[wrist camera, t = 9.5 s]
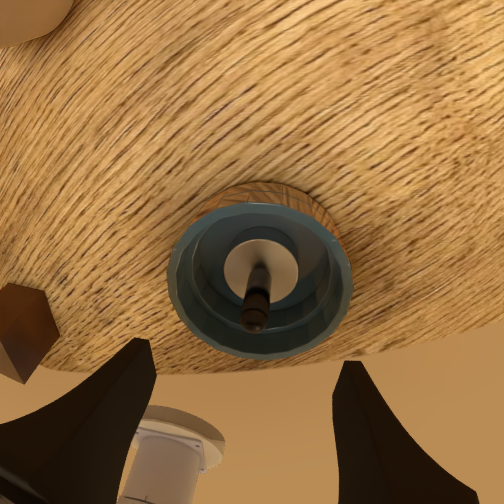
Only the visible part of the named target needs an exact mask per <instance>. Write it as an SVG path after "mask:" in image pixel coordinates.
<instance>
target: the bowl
mask: <svg viewBox="0 0 504 504" xmlns="http://www.w3.org/2000/svg"><path fill="white" fill-rule="evenodd" d="M255 227H268V228H272V229H276V230H278V231H280V232H282V233H284V234H285V235H286V236H288V237H289V238H290V239H291V241H292V242H293V243H294V245H295V247H296V249H297V252H298V259H299V279H298V282H297V284H296V286H295V288H294V289H293V291H292V292H291V293H290V294H289V295H288V296H286V297H285V298H283V299H282V300H280V301H277V302H274V303H270V308H269V319H268V324H267V326H266V328H265V329H264V330H263V331H261V332H259V333H249V332H247V331H245V330H244V329H243V327H242V326H241V323H240V315H241V310H242V305H243V299H241V298H240V297H238V296H237V295H236V294H235V293H233V291H232V290H231V289H230V288H229V286H228V285H227V283H226V281H225V278H224V273H223V266H224V261H225V258H226V255H227V253H228V250H229V247H230V245H231V243H232V242H233V240H234V239H235V238H236V237H237V236H238V235H239V234H241V233H242V232H244V231H246V230H248V229H251V228H255ZM166 273H167V283H168V292H169V297H170V300H171V302H172V304H173V306H174V308H175V310H176V312H177V314H178V317H179V318H180V319H181V320H182V322H183V323H184V324H185V325H186V326H187V327H188V328H189V329H190V330H191V332H192V333H193V334H194V335H195V336H196V337H198V338H199V339H201V340H202V341H204V342H206V343H207V344H209V345H210V346H212V347H213V348H215V349H217V350H219V351H222V352H225V353H228V354H231V355H234V356H237V357H241V358H246V359H256V360H273V359H281V358H288V357H292V356H295V355H298V354H300V353H303V352H305V351H308V350H310V349H312V348H314V347H316V346H317V345H318V344H320V343H321V342H322V341H324V340H325V339H326V338H328V337H329V336H330V335H331V334H333V332H335V330H336V329H337V327H338V326H339V324H340V323H341V321H342V320H343V319H344V317H345V316H346V314H347V312H348V309H349V305H350V301H351V297H352V293H353V288H354V287H353V278H352V270H351V263H350V260H349V258H348V255H347V252H346V249H345V246H344V244H343V241H342V238H341V236H340V233H339V231H338V229H337V228H336V226H335V224H334V222H333V220H332V219H331V217H330V215H329V214H328V213H327V211H326V210H325V209H324V208H322V207H321V206H320V205H319V204H318V203H317V202H316V201H315V200H313V199H312V198H311V197H310V196H308V195H307V194H305V193H303V192H301V191H298V190H296V189H293V188H291V187H289V186H286V185H284V184H283V185H282V184H274V183H262V182H255V183H254V182H252V183H248V184H244V185H239V186H235V187H231V188H229V189H226V190H224V191H223V192H221V193H220V194H218V195H216V196H215V197H213V198H212V199H210V200H209V201H207V202H206V203H205V204H204V206H203V207H202V208H201V210H200V211H199V212H198V213H197V215H196V216H195V217H194V219H193V220H192V221H191V223H190V224H189V225H188V227H187V228H186V230H185V231H184V232H183V234H182V235H181V237H180V238H179V239H178V241H177V242H176V244H175V245H174V247H173V249H172V252H171V256H170V260H169V263H168V267H167V272H166Z"/></svg>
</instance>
